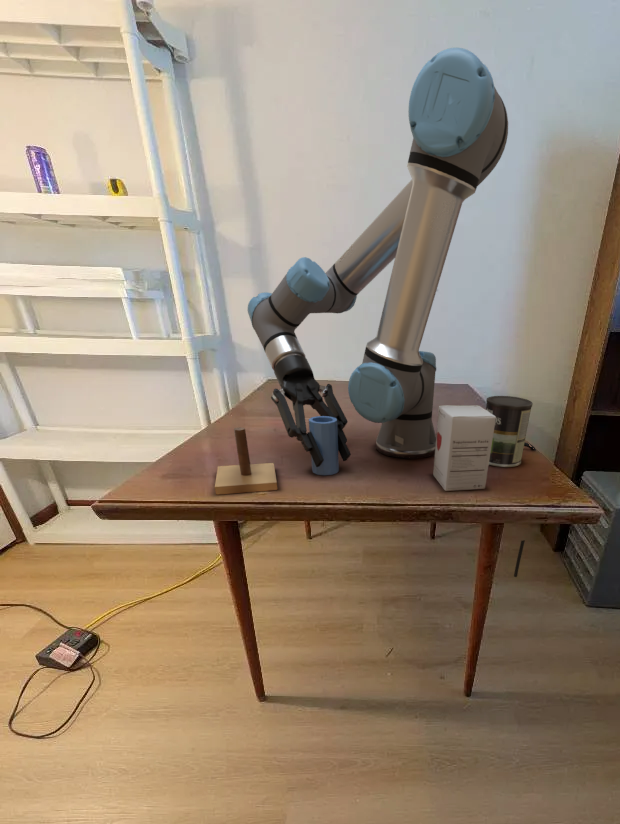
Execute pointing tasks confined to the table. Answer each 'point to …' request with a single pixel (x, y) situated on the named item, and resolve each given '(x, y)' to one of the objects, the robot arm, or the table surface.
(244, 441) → the stand
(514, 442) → the coffee can
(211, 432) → the table surface
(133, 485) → the table surface
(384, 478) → the table surface
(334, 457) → the blue hollow tube
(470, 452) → the white product box
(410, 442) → the robot arm
